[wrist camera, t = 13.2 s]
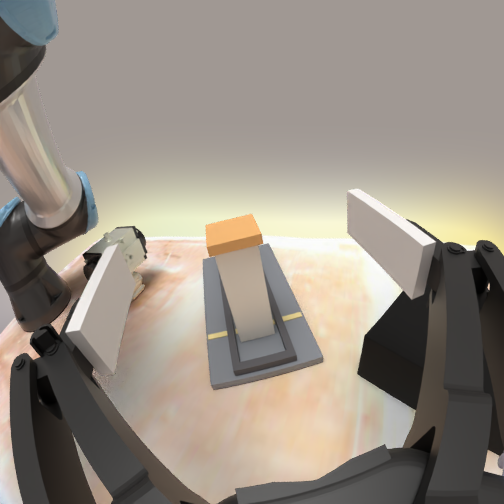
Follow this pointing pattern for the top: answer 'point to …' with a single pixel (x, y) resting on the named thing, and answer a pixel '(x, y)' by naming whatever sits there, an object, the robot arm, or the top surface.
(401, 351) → the box
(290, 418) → the top surface
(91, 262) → the pneumatic valve
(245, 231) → the fader knob
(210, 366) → the slider console
